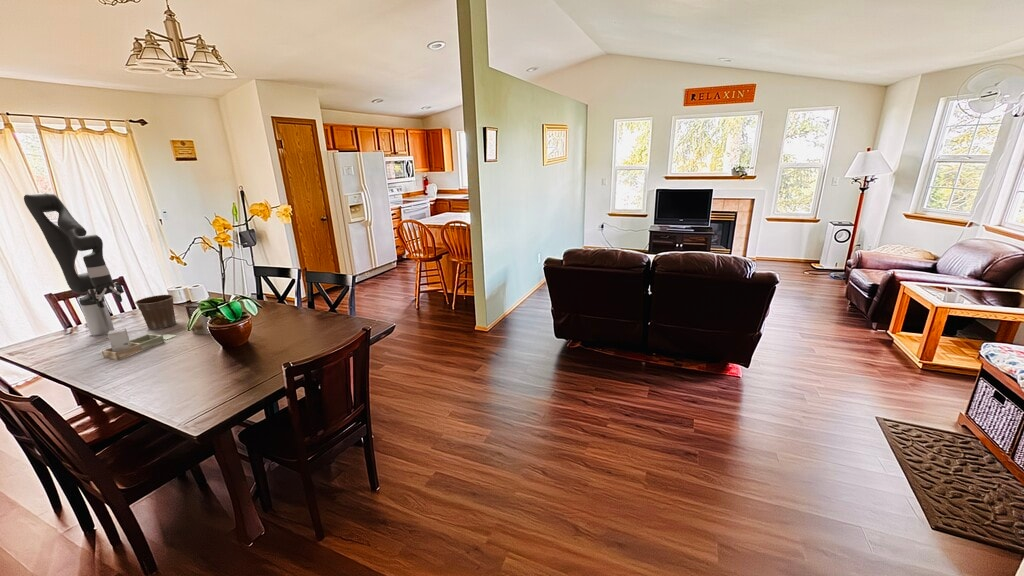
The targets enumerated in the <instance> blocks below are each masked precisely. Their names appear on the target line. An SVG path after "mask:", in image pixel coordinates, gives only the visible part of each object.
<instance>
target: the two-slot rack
mask: <svg viewBox="0 0 1024 576" xmlns="http://www.w3.org/2000/svg"><path fill="white" fill-rule="evenodd" d="M129 341H130V344H131V347H130V348H127V349H125V350H122V351H119V352H113V350H112V347H111V346H110V347H109V348H106V349H103V350H101V353H102V357H103V358H104V359H110V360H114V361H115V360H116V361H120V360H122V359H125V358H128V357H129V356H132V354H133V355H134V354H137V352H138V353H140V352H142V350H143V351H145V350H147V348H148V349H150V348H153V347H155V346H158V345H159V344H162V343H165V340H164V338H163V335H161V334H154V333H147V334H144V335H142V336H139V337H136V338H134V339H131V340H130V339H129ZM157 344H158V345H157ZM152 346H153V347H152ZM139 351H140V352H139ZM127 356H128V357H127Z"/></svg>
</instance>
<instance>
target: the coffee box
mask: <svg viewBox="0 0 1024 576" xmlns="http://www.w3.org/2000/svg"><path fill="white" fill-rule="evenodd" d="M199 303H200V302H196V301H195V302H192V303H190V304H188V305H185V309H186V310H185V311H186V313H187V317H188V321H189V322H190V319H191V316H192V314H193V312H194V311H195V310H196V309H197V307H198V305H199ZM208 320H209V319H208V318H207V317H205V316H201V317H200V318H199V319H198V320H197V322H196V323H195V324H194V326H193V328H192V329H191V333H192V335H193V334H195V335H209V334H210V333H209V331H208V329H207V322H208Z"/></svg>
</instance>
